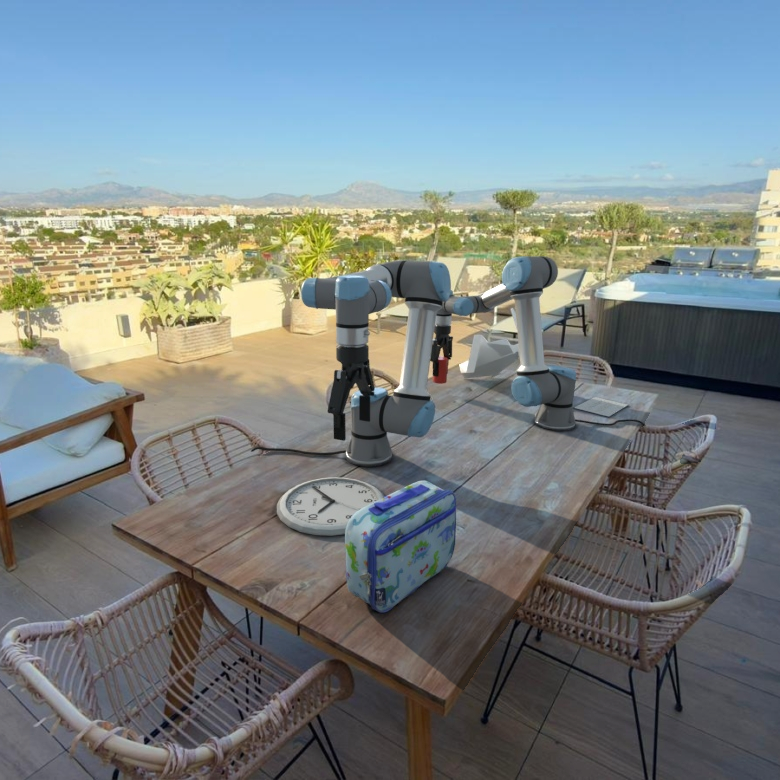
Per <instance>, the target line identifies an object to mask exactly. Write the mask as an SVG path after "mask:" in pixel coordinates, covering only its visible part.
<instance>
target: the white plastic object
mask: <svg viewBox="0 0 780 780" xmlns="http://www.w3.org/2000/svg"><path fill="white" fill-rule="evenodd" d="M510 312H511V316H512V319H513V321H514V325H515V329H517V320H516V309H514V307H511V308H510ZM471 343H472V344H471V348H470V353H469V357H468V360H466V361H464V362H462V363H460V364H458V366H459V370H460V374H461V375H462V377H463V378H464V379H473V378H474V379H475V378H482V377H483V378H484V377H490V376H491V378H494V377H497V376H499V375H501V372H503V371H504V370H505V369H507V368H509V366H511V365H512V364H513V363H515V362H516V361H518V360H520V355H519V343H516V344H511V342H510V341H509V340H508V338H501V339H497V340H494V341H488V340H487V338H485V336H484V335H483V334H473V339H472V342H471Z"/></svg>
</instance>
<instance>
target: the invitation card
mask: <svg viewBox="0 0 780 780" xmlns="http://www.w3.org/2000/svg"><path fill="white" fill-rule="evenodd" d="M628 406H629V404H627V403H623V402H618V401H614V400H609V399H605V398H601V397H596V396H593V397H592V398H590V399H588V400H586V401H584V402H582V403H580V404H578V405H575V406H574V407H573V409H575V410H581V411H584V412H587V413H593V414H596V415H600V416H604V417H608V418H609V417H611V416H613V415H614V414H616V413H617V412H619V411H621V410H623V409H624V408H626V407H628Z"/></svg>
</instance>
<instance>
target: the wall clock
mask: <svg viewBox="0 0 780 780" xmlns="http://www.w3.org/2000/svg"><path fill="white" fill-rule="evenodd" d="M384 497H386V495H385V494H384V493H383V492H382V491H381V490H380V489H379V488H377V487H376V486H374V485H372V484H371V483H369V482H365V481H362V480H359V479H355V478H349V477H338V476H337V477H335V476H333V477H332V476H331V477H322V478H317V479H312V480H307V481H305V482H302V483H299V484H297V485H295V486H293V487H292V488H290V489H288V490H287V491H286V492H285V493H284V494H283V495H281V496H280V498H279V499H278V502H277V503H276V515H277V517H278V518H279V520H280V521H281V522H282V523H283V524H285V525H286V526H287V527H288V528H290V529H293V530H295V531H297V532H299V533H303V534H308V535H312V536H327V537H328V536H329V537H331V536H332V537H333V536H342V535H345V531H346V527H347V524H348V522H349V520H350V518H351V517H352V515H353V514H354V513H355V512H357V511H358V510H360V509H362V508H364V507H366V506H368V505H370V504H372V503H374V502H376V501H378V500H380V499H382V498H384Z"/></svg>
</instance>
